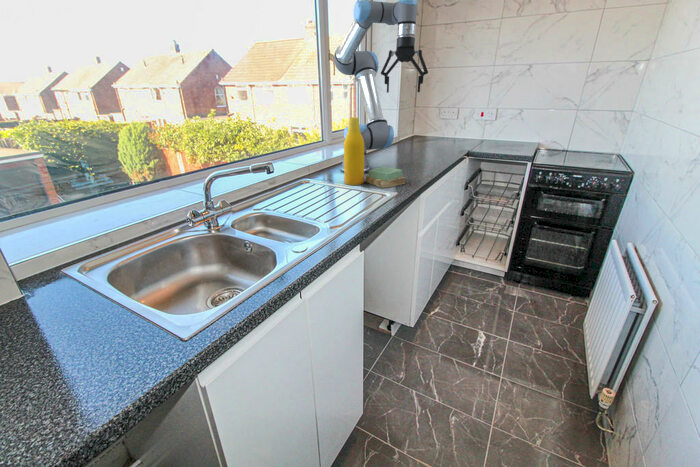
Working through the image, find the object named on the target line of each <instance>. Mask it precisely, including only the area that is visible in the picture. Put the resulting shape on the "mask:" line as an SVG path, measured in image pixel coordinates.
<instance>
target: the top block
mask: <svg viewBox="0 0 700 467" xmlns="http://www.w3.org/2000/svg"><path fill="white" fill-rule="evenodd" d="M368 175H369V177H372V178H377V179H381V180H386V181H389V180H392V179H395V178H398V177H401V176H402V177H403V169H400V168H396V167H395V168H394V167H389V166H381V167H376V168H373V169H370V170H369V171H368Z"/></svg>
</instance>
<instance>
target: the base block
mask: <svg viewBox="0 0 700 467" xmlns="http://www.w3.org/2000/svg"><path fill="white" fill-rule="evenodd" d="M365 182H366V183H368V184H371V185H372V186H376V187H377V188H380V189H386V188H391V187H396V186H402V185H405V184H406V177H405V176H403V175H402V176H401V177H398V178H395V179H392V180H389V181H386V180H381V179H377V178H372V177H369V174H368V175H365Z"/></svg>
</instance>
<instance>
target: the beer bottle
mask: <svg viewBox="0 0 700 467" xmlns="http://www.w3.org/2000/svg"><path fill="white" fill-rule="evenodd" d="M359 124H360V117H359V116H350V117H348V126H347V127H348V133H347V135H346V138H345V141H344V140H343V160H344V172H343V174H344V176H343V178H344V183H345V185H348V186H361V185H363V184H364V183H365V173H364V140H363V137H362V135H361V133H360V126H359Z"/></svg>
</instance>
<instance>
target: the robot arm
mask: <svg viewBox="0 0 700 467" xmlns="http://www.w3.org/2000/svg"><path fill="white" fill-rule="evenodd" d="M418 4H419V3H418V0H397V1H396V2H390V1H389V2H388V1H378V0H377V1H376V0H357V1H355V3H354V6H353V10H352V11H353V13H352V14H353V21H352V23H351V25H350V27H349V29H348V31H347V33H346V35H345V37H344V39H343V40H342V42H341V44H340V45H339V46H337V48H336V49H335V50H334V51H335V52H334V55H333V63H334V66H335V68H336V69H337V70H338V71H339V72H340V73H341V74H342V75H345V76H354V79H355V81H356V83H358V85H359V89H360V94H361V99H362V102H363V107H364V113H365V117H366V122H367V123H366V124H365V123H359V126H360V133H361V135H362V137H363V140H364V174H365V173H369V170H371V167H370V163H369V159H368V156H367V151H370V150H383V149H388V148H390V147H391V146H392V145H393V143H394V138H395V130H394V127H393V126H392V125H390V124H388V120H387V119H385V117H384V115H383V111H382V107H381V101H380V97H379V93H378V88H377V83H376V77H377V73H378V71H379V59H378V56H377V54H376V53H375V52H373V51H370V50H358V49H359V47H360V45H361V44H362V41H363V40H364V39H365V37H366V35H367V33H368V31H369V30H370V28H371V26H372V25H373V24H385V25H387V26H395V25H397V26H396V36H397V38H396V48H395V50H391V49H389V51H388V56H387V58H386V61H385V62H384V64H383V67H382V69H381V71H380V75H381V76H383V77H384V85H386V93H387V94H389V92H390V76H389V74H390V73H391V71H392V70H393V69H394V68H395V66H396V65H397V64H398V63H399V62H400V63H409V62H410V63H411V64H412V65H413V67H414V68H415V70H416V71H417V73H418V74H419V75H418V78H417V89H416V90H417V93H420V92H421V85H423V84H424V76H425V75H428V74H429V70H428V68H427V65H426V63H425V60H424V57H423V51H422V49H419V50H415V44H416V38H415V36H416V25H417V14H418ZM394 55H395V57H396V59H395V60H394V62H392V64H391V66H389V68H388V65H389V63H390V61H391V59H392V58H393V57H394ZM415 55H416V56H417V57H418V60H419V62H420V65H421V68H422V69H421V68H420V66H419V65H418V63H417V62H416V60H415V58H414V57H415ZM387 68H388V69H387ZM386 69H387V71H386ZM385 71H386V72H385ZM347 133H348V126H346V127H344V130H343V142H344V141H345V138H346V135H347ZM340 168H341V172H343V173H344V159H343V160H342V163H341V167H340Z"/></svg>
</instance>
